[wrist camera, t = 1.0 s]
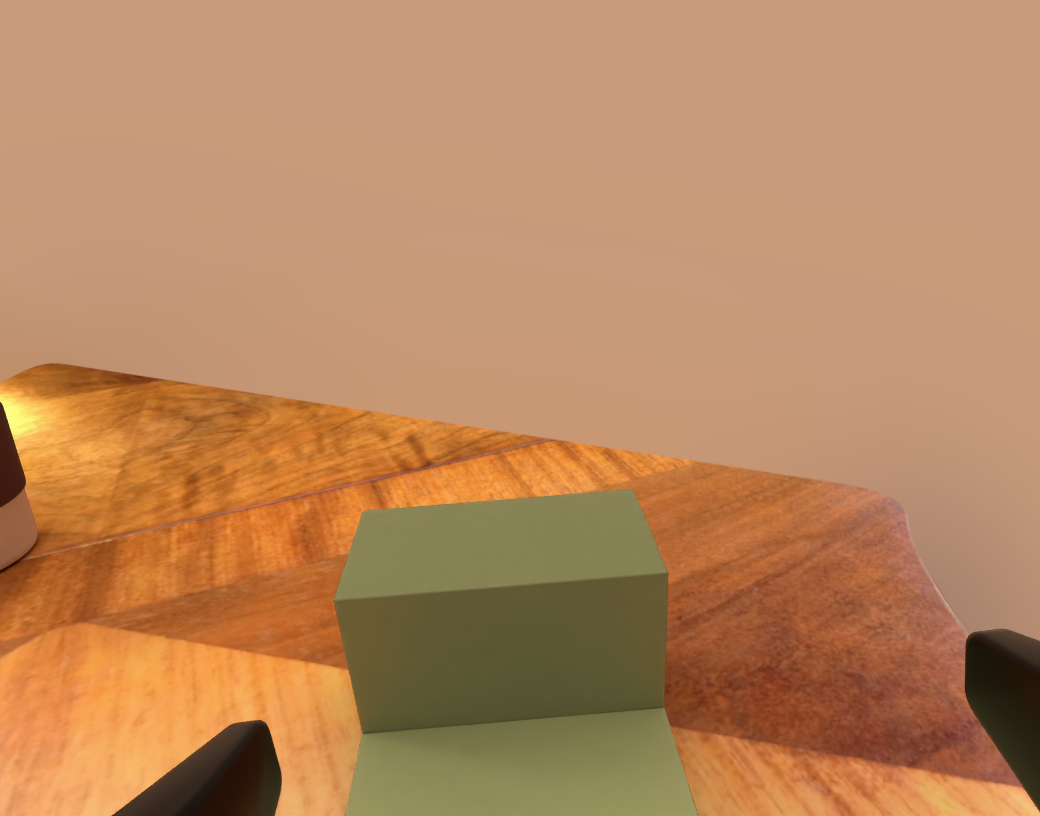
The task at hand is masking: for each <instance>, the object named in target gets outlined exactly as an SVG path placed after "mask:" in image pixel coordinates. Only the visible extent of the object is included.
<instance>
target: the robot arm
mask: <svg viewBox="0 0 1040 816" xmlns="http://www.w3.org/2000/svg"><path fill="white" fill-rule="evenodd" d="M965 693H966V697H967V700H968V703H969V705H970V707H971V709H972V711H973V713H974V714H975V716H976V717H977V719H978V720H979V722H980V723H981V725H982V726H983V728H984V729H985V731H986V732H987V734H988V735H989V737H990V738H991V740H992V741H993V743H994V744H995V746H996V747H997V749H998V750H999V752H1000V753H1001V755H1002V756H1003V758H1004V759H1005V761H1006V762H1007V764H1008V765H1009V767H1010V768H1011V770H1012V771H1013V773H1014V774H1015V776H1016V777H1017V779H1018V780H1019V782H1020V783H1021V785H1022V786H1023V788H1024V789H1025V791H1026V792H1027V794H1028V795H1029V797H1030V798H1031V800H1032V801H1033V803H1034V804H1035V806H1036V807H1037V809H1038V810H1039V812H1040V641H1039V640H1036V639H1033V638H1030V637H1027V636H1024V635H1022V634H1019V633H1016V632H1013V631H1011V630H1007V629H994V630H986V631H978V632H973V633H972V634H970V635H969V636H968V638H967V640H966V654H965ZM281 785H282V777H281V770H280V766H279V762H278V759H277V755H276V751H275V748H274V744H273V741H272V737H271V734H270V730H269V728H268V726H267V724H266V723H265V722H263V721H261V720H255V721H247V722H239V723H234V724H231V725H230V726H228V727H227V728H225V729H224V730H223V731H222V732H220V733H219V734H218V735H216V736H215V737H214V738H212V739H211V740H210V741H209V742H207V743H206V744H205V745H203V746H202V747H201V748H199V749H198V750H197V751H196V752H194V753H193V754H192V755H190V756H189V757H188V758H186V759H185V760H184V761H182V762H181V763H180V764H179V765H177V766H176V767H175V768H173V769H172V770H171V771H169V772H168V773H167V774H166V775H164V776H163V777H162V778H160V779H159V780H158V781H156V782H155V783H154V784H153V785H151V786H150V787H149V788H147V789H146V790H145V791H143V792H142V793H141V794H140V795H138V796H137V797H136V798H134V799H133V800H132V801H130V802H129V803H128V804H126V805H125V806H124V807H123V808H121V809H120V810H119V811H117V812H116V813H115V814H113V815H112V816H275V812H276V808H277V804H278V800H279V796H280V792H281Z"/></svg>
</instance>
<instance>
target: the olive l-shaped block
mask: <svg viewBox="0 0 1040 816" xmlns="http://www.w3.org/2000/svg"><path fill="white" fill-rule="evenodd" d="M667 600H668V571H667V568H666V566H665V563H664V561H663V559H662V556H661V554H660V552H659V549H658V547H657V544H656V542H655V540H654V537H653V535H652V533H651V530H650V528H649V525H648V523H647V521H646V518H645V516H644V514H643V511H642V509H641V506H640V504H639V502H638V499H637V497H636V495H635V492H634V490H632V489H630V490H618V491H605V492H593V493H580V494H568V495H555V496H543V497H530V498H518V499H505V500H493V501H481V502H468V503H456V504H443V505H431V506H418V507H406V508H393V509H381V510H368V511H363V512H362V516H361V519H360V522H359V525H358V528H357V531H356V534H355V537H354V540H353V543H352V546H351V549H350V552H349V555H348V558H347V561H346V564H345V567H344V570H343V573H342V576H341V579H340V582H339V585H338V588H337V591H336V594H335V597H334V605H335V609H336V614H337V619H338V623H339V628H340V632H341V637H342V642H343V646H344V651H345V655H346V660H347V665H348V669H349V674H350V678H351V683H352V688H353V692H354V697H355V701H356V706H357V711H358V715H359V720H360V725H361V729H362V736H361V741H360V746H359V751H358V756H357V760H356V765H355V770H354V775H353V780H352V784H351V789H350V794H349V799H348V804H347V808H346V813H345V816H698V812H697V809H696V806H695V803H694V800H693V797H692V793H691V790H690V787H689V784H688V781H687V777H686V774H685V771H684V768H683V765H682V762H681V758H680V755H679V752H678V749H677V746H676V742H675V739H674V736H673V733H672V730H671V727H670V723H669V720H668V717H667V714H666V711H665V708H664V695H665V664H666V632H667Z"/></svg>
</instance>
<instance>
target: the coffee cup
mask: <svg viewBox="0 0 1040 816" xmlns="http://www.w3.org/2000/svg"><path fill="white" fill-rule="evenodd" d="M25 485H26V479H25V475H24V472H23V469H22V466H21V462H20V459H19V456H18V453H17V449H16V446H15V443H14V440H13V436H12V433H11V430H10V427H9V424H8V420H7V417H6V414H5V411H4V407H3V405H2V403H1V402H0V570H2V569H4V568H5V567H7V566H9V565H11V564H12V563H14V562H15V561H17V560H18V559H20V558H21V557H22V556H24V555H25V554H26V553H27V552H28V551H29V550H30V549H31V548H32V547H33V545H34V544H35V542H36V540H37V536H38V530H37V527H36V523H35V520H34V517H33V514H32V511H31V508H30V504H29V501H28V498H27V495H26V492H25V488H24V487H25Z"/></svg>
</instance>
